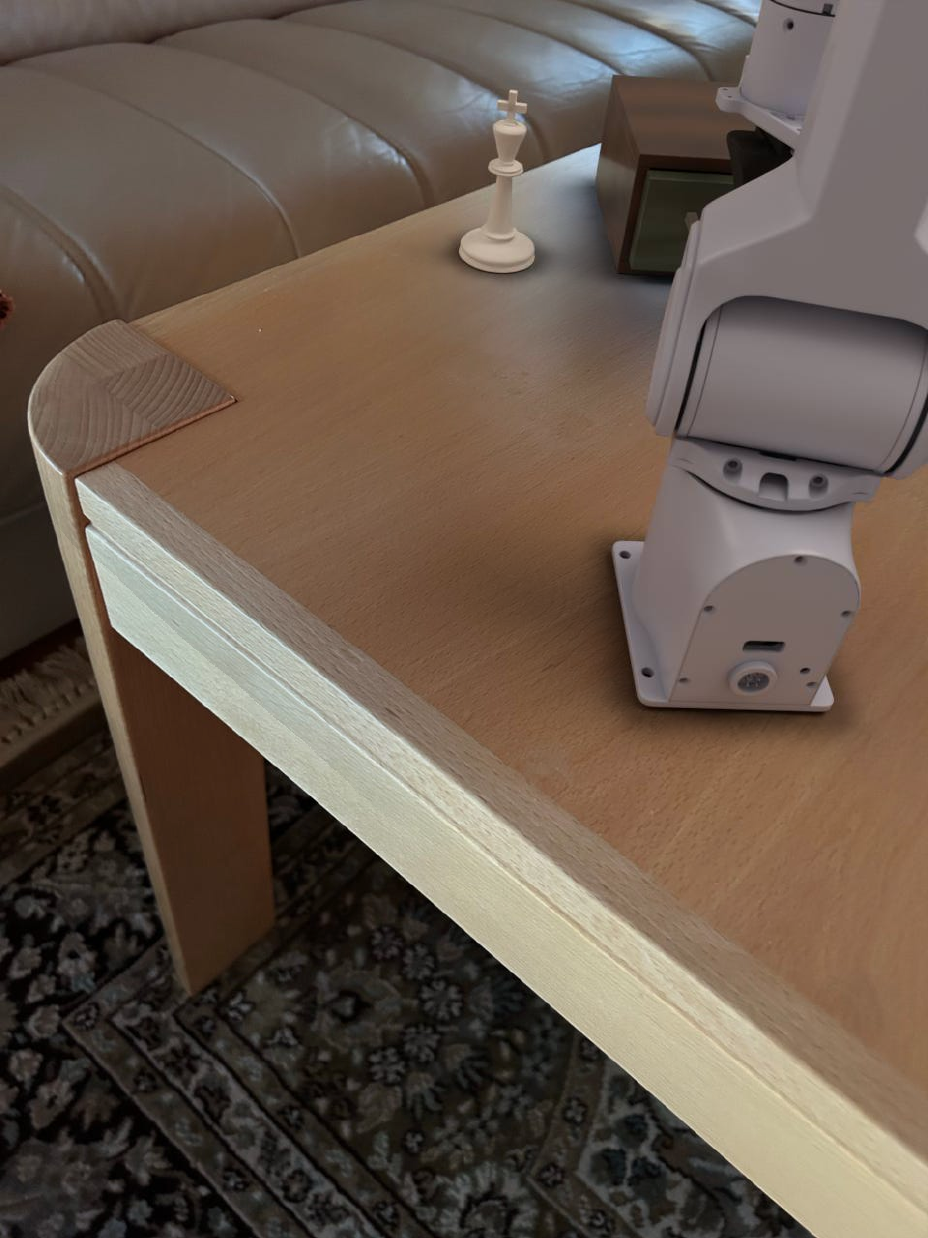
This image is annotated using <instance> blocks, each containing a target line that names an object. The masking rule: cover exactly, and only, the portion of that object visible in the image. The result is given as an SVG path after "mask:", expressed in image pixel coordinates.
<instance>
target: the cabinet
mask: <svg viewBox="0 0 928 1238" xmlns="http://www.w3.org/2000/svg"><path fill="white" fill-rule="evenodd" d="M739 83H740V82H725V81H724V82H723V81H710V80H699V79H697V80H695V79H684V78H683V79H682V78H667V77H653V76H640V75H626V74H625V75H624V74H612V76H611V83H610V89H609V93H608V94H609V95H608V101H607V105H606V112H605V119H604V124H603V130H602V136H601V143H600V149H599V156H598V162H597V167H596V172H595V180H594V189H595V192H596V196H597V200H598V204H599V208H600V212H601V215H602V220H603V224H604V228H605V232H606V236H607V239H608V243H609V248H610V250H611V255H612V259H613V262H614V266H615V270H616V273H617V274H629V275H631V274H632V275H647V276H648V275H649V276H667V277H675V274H676V272H669V271H651V270H634V269H631V266H630V262H629V257H630V252H631V247H632V242H633V237H634V232H635V227H636V222H637V217H638V212H639V207H640V202H641V197H642V192H643V187H644V182H645V177H646V172H647V170H650V168H664V169H679V170H695V171H710V172H726V173H732V166H731V160H730V154H729V150H728V146H727V140H726V137H727V133H728V132H730V131H733V130H750V131H755V128H756V126H757V125H755V124H754V123H752V122H750V121H749V120H747V119H746V118H744V117H743V116H741V115H740V114H735V113H726V112H723V111H721V110H720V109H719V107H718V105H717V104H716V102H715V100H716V96H717V91H718V88H721V87H732V88H735V87H738V86H739Z"/></svg>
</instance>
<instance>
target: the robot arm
mask: <svg viewBox="0 0 928 1238" xmlns="http://www.w3.org/2000/svg"><path fill="white" fill-rule="evenodd" d="M759 8H760V9H759V12H758V17H757V22H756V26H755V29H754V33H753V38H752V41H751V42H752V43H751V46H750V50H749V54H747V55H745V59H744V62H743V67H742V71H741V76H740V80H739V82H738V83H739V86H738V87H735V88H732V87H721V88H718V91H717V96H716V100H715V102H716V104H717V105H718V107H719V109H720V110H721V111H723V112H726V113H735V114H740V115H741V116H743V117H744V118H746V119H747V120H749V121H750V122H752V123H754V124H755V125H757V126H756V128H755V131H750V130H733V131H730V132H728V133H727V137H726V140H727V146H728V150H729V154H730V160H731V166H732V173H733V185H734V190H733V191H731V192H729V193H727V194H725V195H723V196H722V197H720V198H718V199H716V200H714V201H713V202H711V203H709V204H708V205H707V206H705V207H704V208H703V210H702V214H701V218H700V221H696V222H695V223H693V224H692V225H691V228H690V232H689V236H688V240H687V244H686V248H685V252H684V256H683V260H682V263H681V267H680V268H678V269H677V271H676V274H675V276H673V281H672V284H671V288H670V291H669V295H668V299H667V303H666V307H665V312H664V316H663V321H662V324H661V330H660V334H659V338H658V343H657V347H656V351H655V352H656V353H655V357H654V361H653V367H652V372H651V377H650V382H649V387H648V393H647V398H646V405H645V411H644V414H645V415H644V416H645V418H646V420H647V421H648V423H649V424H650V426H652V427H653V432H654V434H655V435H657V436H659V437H664V438H665V437H666V438H670V443H669V444H670V445H669V449H668V453H667V455H666V459H665V464H664V466H663V471H662V475H661V478H660V482H659V486H658V490H657V494H656V496H655V501H654V504H653V508H652V512H651V515H650V519H649V522H648V527H647V530H646V533H645V538H644V541H640V540H639V541H636V540H618V541H615V542H614V543H613V545H612V548H611V558H612V563H613V569H614V574H615V579H616V585H617V589H618V597H619V602H620V606H621V613H622V618H623V624H624V629H625V636H626V642H627V647H628V653H629V658H630V662H631V668H632V672H633V673H632V675H633V680H634V685H635V691H636V697H637V699H638V701H639V702H640V703H641V704H642V705H645V706H647V707H651V708H654V707H655V708H681V709H682V708H683V709H687V708H688V709H721V710H753V711H756V710H757V711H787V712H788V711H791V712H828V711H829V710H831V708H832V706H833V705H834V702H835V697H834V695H833V691H832V688H831V686H830V683H829V681H828V678H827V674H828V672H829V670H830V668H831V667H832V664H833V662H834V659H835V658H836V656H837V654H838V652H839V650H840V649H841V646H842V644H843V642H844V640H845V638H846V637H847V634H848V632H849V630H850V628H851V626H852V624H853V622H854V621H855V619H856V617H857V614H858V613H859V610H860V606H861V602H862V588H861V587H862V586H861V581H860V578H859V574H858V571H857V567H856V563H855V560H854V555H853V545H852V527H853V526H852V525H853V519H854V510H855V508H856V504H857V502H859V503H867V504H871V503H872V502H873V500H874V498H875V496H876V493H877V492H878V489H879V487H880V485H881V484H882V483H881V482H882V481H883V479H884V478H888V479H893V480H896V481H901V480H906V479H908V478H909V477H910V476H912V475H914V474H915V472H917V470H919V469H921V468H922V467H923V466H925V465H926V464H927V463H928V0H762V1H761V3H760V7H759ZM645 675H648V676H649V677H648V676H645Z"/></svg>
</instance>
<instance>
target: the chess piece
mask: <svg viewBox="0 0 928 1238" xmlns="http://www.w3.org/2000/svg"><path fill="white" fill-rule="evenodd" d="M518 93H519V91H518V90H515V89H510V90H509V92H508V99H507V100H504V99H498V100H497V104H496V110H497V111H502V112H506V119H500V120H497V121H496V122H494V124H493V125H492V134H493V137H494V141H495V148H496V152H497V158H493V159H492V160H490V162H489V164H488V166H487V169H488V171H489V172H490V173H491V174H493V175H495V176H496V180H495V184H494V191H493V195H492V199H491V200H492V201H491V204H490V209H489V214H488V216H487V221H486V223H484V224H483V225H482V226H481V227H477V228H475V229H472V230H469V231H467V232H466V233H465V234H464V235H463V236H462V238H461V239H460V246H459V249H458V254H459V257H460V258H461V260H462V261H464V262H465V263H466V264H468V265H469V266H471V267H472V268H475V269H478V270H481V271H485V272H489V273H497V274H508V273H516V272H520V271H523V270H525V269H527V268H529V267H530V266H532V264H533V263H534V261H535V259H536V258H535V255H536V254H535V244H534V242H533V241H532V240H531V238H529V237H528V236H527V235H526V234H524V233H522V232H520V231H518V229H517V228H516V227H515V226H514V221H513V219H514V217H513V178H515V177H517V176H521V175H522V174H523V172H524V168H523V164H522V163H521V162H519V161H518V160H516V157H517V155H518V153H519V151H520V147H521V145H522V143H523V142H524V141H523V140H525V136H526V134H527V127H526V125H525V124H524V123H522V122H521V121H518V120H516V114H521V115H526V113H527V110H528V109H527V108H528V103H524V102H518Z"/></svg>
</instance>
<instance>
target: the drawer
mask: <svg viewBox="0 0 928 1238" xmlns="http://www.w3.org/2000/svg"><path fill="white" fill-rule="evenodd" d="M733 190H734V185H733V176H731V175H715V174H699V173H684V172H682V170H679V169H664V168H650V170H647V172H646V177H645V182H644V187H643V192H642V197H641V202H640V207H639V212H638V217H637V222H636V227H635V232H634V237H633V242H632V247H631V252H630V257H629V262H630V266H631V269H634V270H651V271H669V272H676V271H677V269H678V268H680V267H681V263H682V260H683V256H684V252H685V248H686V244H687V240H688V236H689V232H690V228H691V225H692V224H693V223H695V222H696V221H700V218H701V214H702V210H703V208H704V207H705V206H707V205H708V204H709V203H711V202H713V201H714V200H716V199H718V198H720V197H722V196H723V195H725V194H727V193H729V192H731V191H733Z"/></svg>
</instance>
